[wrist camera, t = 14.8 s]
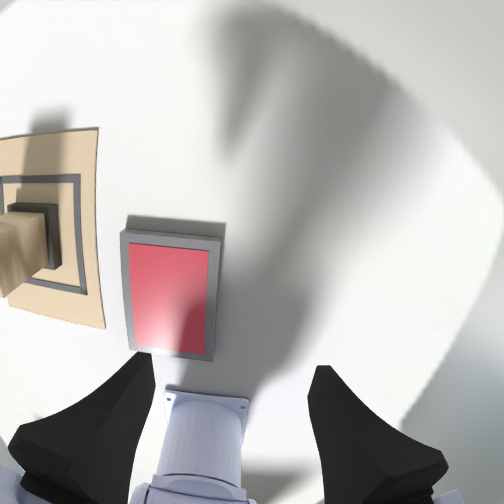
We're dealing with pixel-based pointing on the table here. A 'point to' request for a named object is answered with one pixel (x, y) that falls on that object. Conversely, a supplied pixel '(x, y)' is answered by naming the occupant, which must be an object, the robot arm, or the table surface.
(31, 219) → the stamp
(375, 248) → the table surface
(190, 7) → the table surface
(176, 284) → the ink pad
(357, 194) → the table surface
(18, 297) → the cardboard sheet
